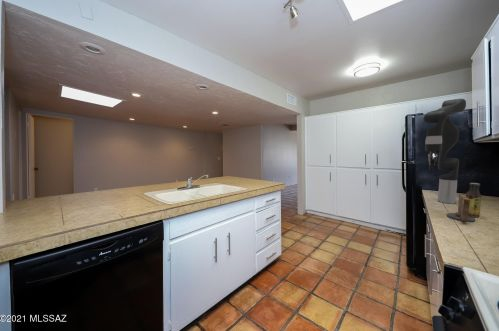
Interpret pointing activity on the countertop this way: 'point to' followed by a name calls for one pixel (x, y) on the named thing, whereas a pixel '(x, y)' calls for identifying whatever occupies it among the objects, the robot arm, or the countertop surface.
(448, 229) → the countertop surface
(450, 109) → the robot arm
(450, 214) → the base
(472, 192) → the sauce bottle
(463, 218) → the brown wooden block
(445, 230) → the countertop surface
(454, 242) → the countertop surface
